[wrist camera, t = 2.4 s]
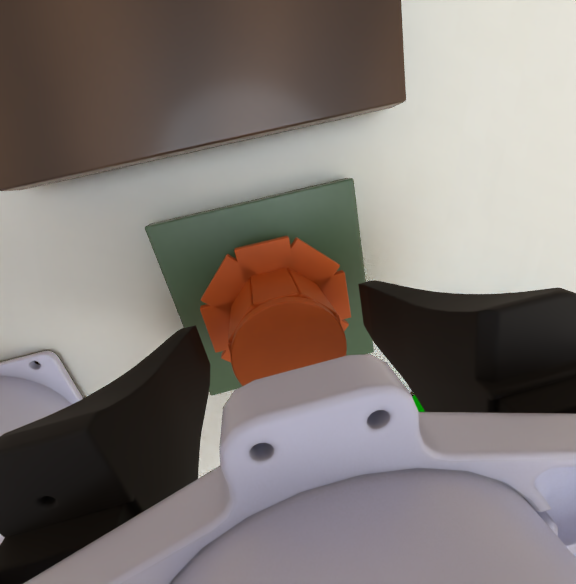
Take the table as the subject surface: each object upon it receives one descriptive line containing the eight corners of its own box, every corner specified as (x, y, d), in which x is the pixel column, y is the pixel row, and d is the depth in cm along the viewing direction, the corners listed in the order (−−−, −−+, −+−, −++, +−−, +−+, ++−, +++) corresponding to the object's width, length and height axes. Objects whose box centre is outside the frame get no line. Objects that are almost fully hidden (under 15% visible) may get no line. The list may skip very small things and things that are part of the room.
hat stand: (212, 385, 18) (199, 476, 13) (149, 223, 14) (92, 252, 9) (367, 343, 19) (420, 413, 13) (347, 178, 15) (408, 177, 9)
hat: (228, 384, 15) (224, 449, 12) (184, 260, 13) (160, 293, 9) (354, 350, 16) (388, 403, 12) (335, 223, 13) (371, 241, 10)
